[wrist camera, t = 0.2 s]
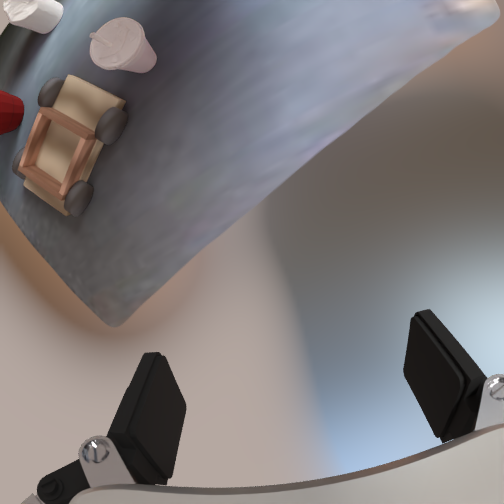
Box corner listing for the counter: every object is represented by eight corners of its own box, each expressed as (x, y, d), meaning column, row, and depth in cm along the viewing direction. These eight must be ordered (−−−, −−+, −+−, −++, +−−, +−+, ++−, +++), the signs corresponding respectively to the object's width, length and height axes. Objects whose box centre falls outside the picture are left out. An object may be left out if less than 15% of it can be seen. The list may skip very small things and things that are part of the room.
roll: (6, 18, 18) (-14, 19, 18) (53, 35, 30) (32, 33, 29) (27, -21, 16) (6, -17, 16) (69, 3, 28) (47, 3, 27)
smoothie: (113, 65, 33) (58, 41, 19) (146, 32, 31) (102, -7, 18) (142, 91, 34) (91, 72, 21) (176, 57, 33) (139, 20, 19)
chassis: (69, 73, 32) (49, 67, 27) (136, 106, 35) (120, 102, 30) (25, 177, 38) (4, 183, 33) (83, 218, 40) (64, 228, 35)
